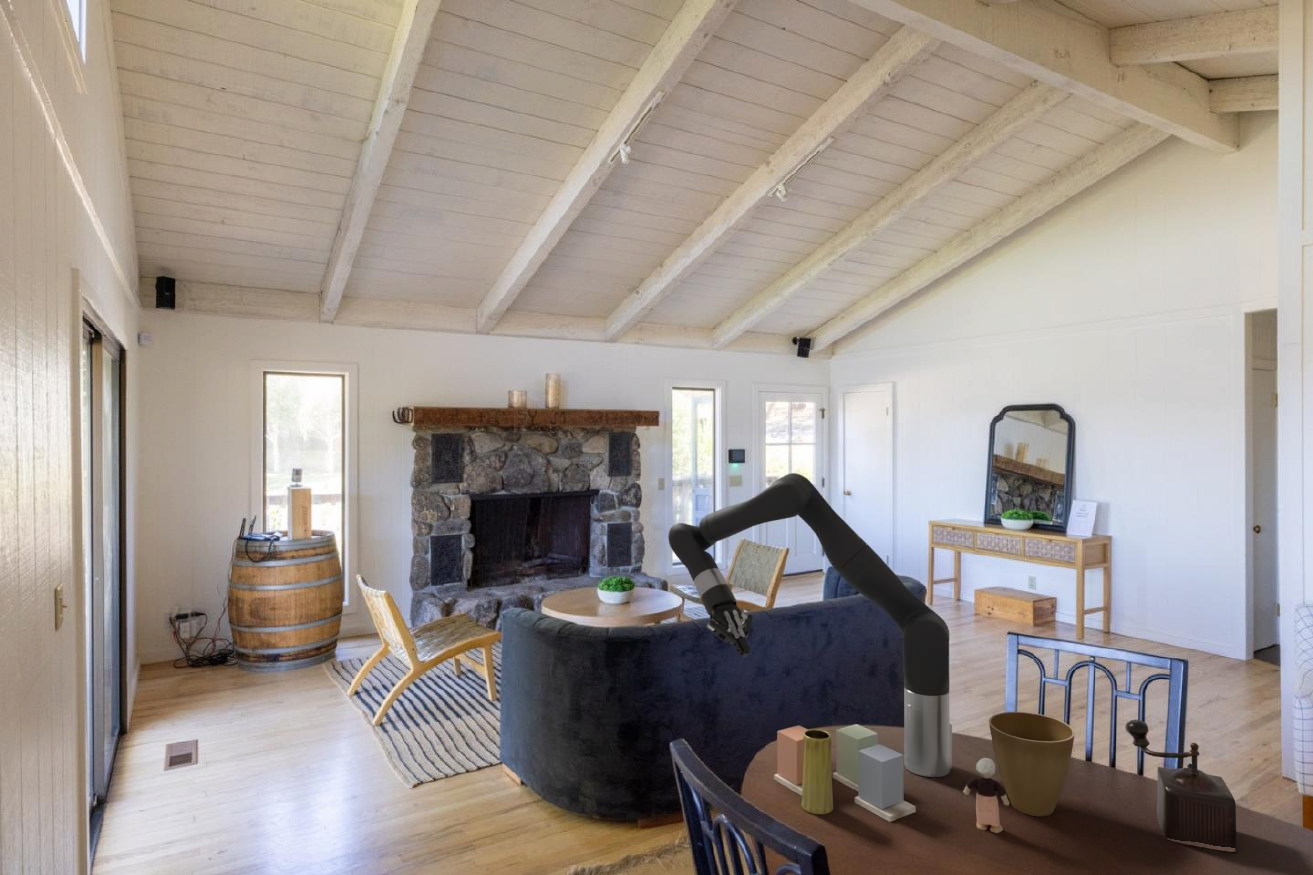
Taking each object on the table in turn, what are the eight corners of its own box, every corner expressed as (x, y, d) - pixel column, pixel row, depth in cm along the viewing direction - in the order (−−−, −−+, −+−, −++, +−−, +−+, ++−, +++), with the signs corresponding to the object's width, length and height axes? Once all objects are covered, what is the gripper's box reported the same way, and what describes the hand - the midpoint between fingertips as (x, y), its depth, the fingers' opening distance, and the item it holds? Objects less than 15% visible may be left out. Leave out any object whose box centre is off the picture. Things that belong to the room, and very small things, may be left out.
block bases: (836, 759, 168) (836, 755, 168) (929, 806, 147) (929, 801, 147) (773, 779, 158) (773, 774, 158) (863, 832, 137) (863, 826, 137)
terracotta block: (798, 767, 161) (798, 725, 161) (818, 777, 156) (818, 734, 156) (777, 773, 158) (777, 730, 158) (796, 784, 153) (796, 740, 153)
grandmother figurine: (1007, 825, 139) (1007, 757, 139) (1010, 835, 136) (1009, 765, 136) (962, 818, 142) (962, 751, 142) (964, 828, 138) (963, 759, 138)
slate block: (879, 788, 151) (879, 744, 151) (903, 801, 146) (903, 754, 146) (858, 796, 148) (858, 750, 148) (882, 809, 143) (881, 761, 143)
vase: (833, 816, 143) (833, 741, 143) (800, 813, 144) (800, 738, 144) (832, 801, 149) (832, 729, 149) (801, 798, 150) (801, 726, 150)
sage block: (856, 765, 162) (856, 723, 162) (878, 776, 157) (878, 733, 157) (836, 772, 159) (836, 729, 159) (857, 783, 154) (857, 739, 154)
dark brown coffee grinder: (1221, 824, 140) (1221, 727, 140) (1238, 855, 130) (1238, 750, 130) (1123, 807, 146) (1123, 714, 146) (1132, 834, 136) (1132, 735, 136)
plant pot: (997, 782, 157) (997, 705, 157) (1079, 802, 148) (1079, 721, 148) (981, 812, 144) (981, 728, 144) (1069, 835, 136) (1069, 747, 136)
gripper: (698, 585, 177) (729, 650, 166) (742, 580, 184) (775, 641, 173) (685, 603, 181) (715, 668, 171) (729, 597, 188) (761, 659, 178)
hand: (745, 654), depth 172 cm, fingers closed
